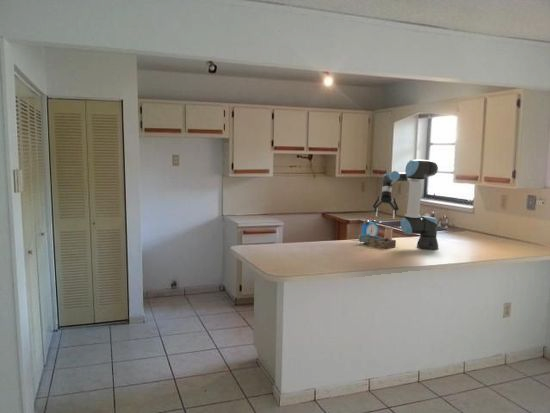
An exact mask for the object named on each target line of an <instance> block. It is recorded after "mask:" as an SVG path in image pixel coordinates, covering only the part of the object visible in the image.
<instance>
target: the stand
mask: <svg viewBox="0 0 550 413" xmlns="http://www.w3.org/2000/svg"><path fill="white" fill-rule="evenodd" d="M396 243H397V240H396V239H393V238H392V239H385V242H382V241H377V240H371V239H368V243H366V244H367V247H373V248H378V249H383V250H387V249H388V250H389V249H392V248H396V247H397V246H396V245H397V244H396Z"/></svg>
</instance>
